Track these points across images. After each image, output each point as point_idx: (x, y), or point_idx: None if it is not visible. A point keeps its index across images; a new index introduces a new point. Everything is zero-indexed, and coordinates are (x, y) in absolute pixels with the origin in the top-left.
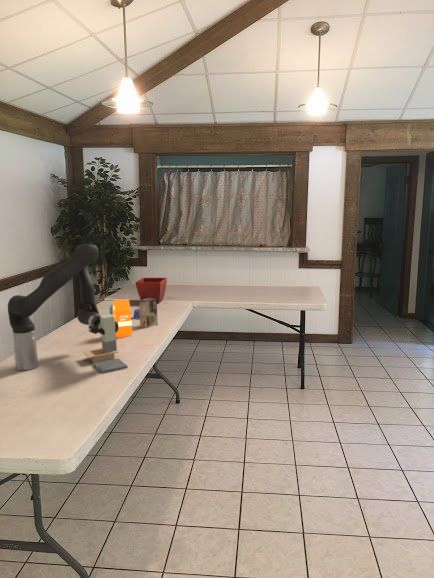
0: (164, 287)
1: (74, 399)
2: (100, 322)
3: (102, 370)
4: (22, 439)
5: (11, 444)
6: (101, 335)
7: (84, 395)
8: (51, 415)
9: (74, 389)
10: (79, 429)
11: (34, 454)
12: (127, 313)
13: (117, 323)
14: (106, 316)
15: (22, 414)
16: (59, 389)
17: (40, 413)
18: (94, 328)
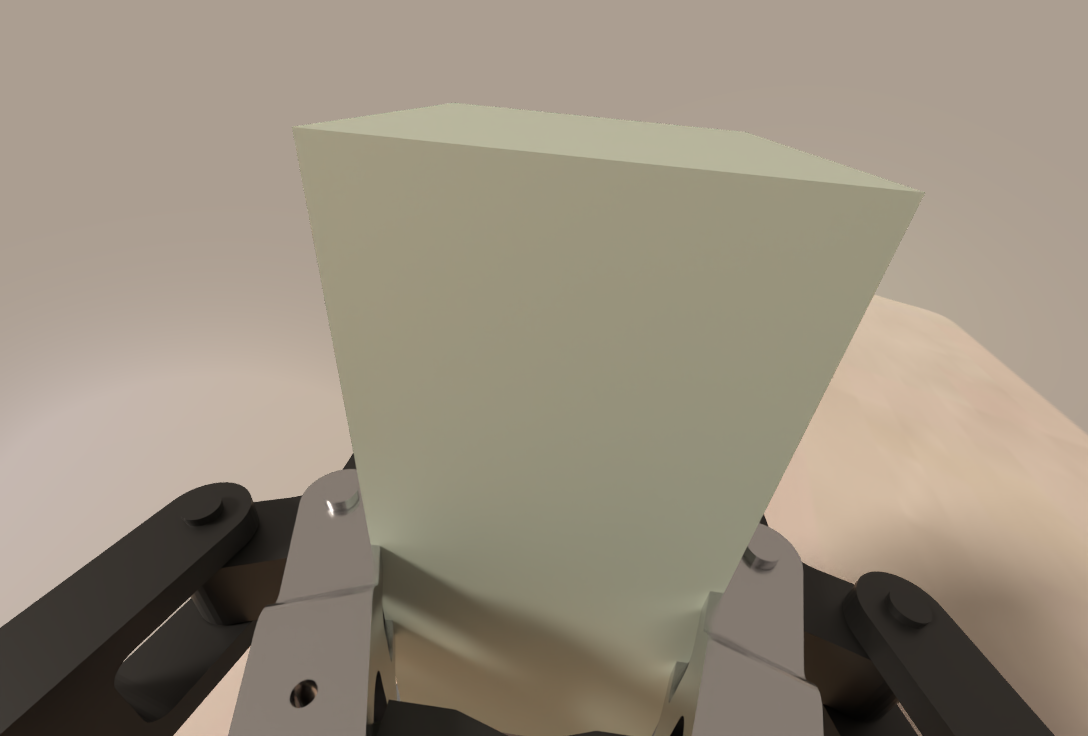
0: None
1: (825, 425)
2: (780, 473)
3: None
4: (933, 335)
5: (954, 333)
6: (662, 707)
7: None
8: (892, 380)
9: (847, 510)
10: None
11: (874, 296)
12: None
13: (41, 613)
14: (632, 130)
15: (1028, 432)
16: (953, 563)
17: (945, 406)
18: (931, 605)
